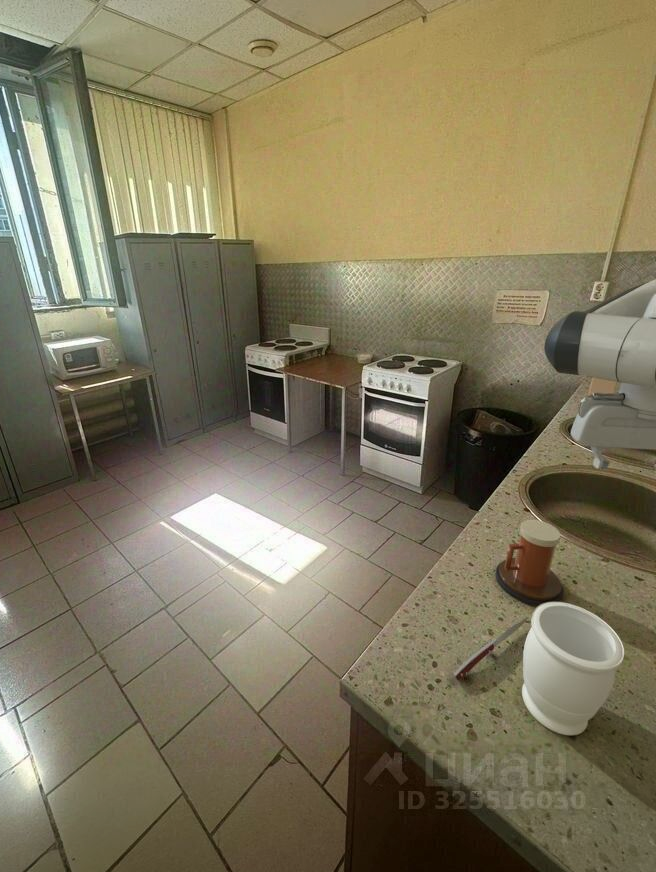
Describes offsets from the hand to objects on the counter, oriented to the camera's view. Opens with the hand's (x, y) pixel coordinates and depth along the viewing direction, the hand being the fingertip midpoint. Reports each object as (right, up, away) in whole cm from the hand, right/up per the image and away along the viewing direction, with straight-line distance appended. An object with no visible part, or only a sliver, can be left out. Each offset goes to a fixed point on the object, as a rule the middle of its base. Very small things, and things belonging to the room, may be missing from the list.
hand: (629, 469), depth 69 cm
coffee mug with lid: (-11, -24, +11) cm, 29 cm away
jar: (-20, -34, -10) cm, 41 cm away
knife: (-25, -31, -2) cm, 40 cm away
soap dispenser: (+80, +14, +107) cm, 134 cm away
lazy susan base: (-11, -25, +12) cm, 30 cm away
